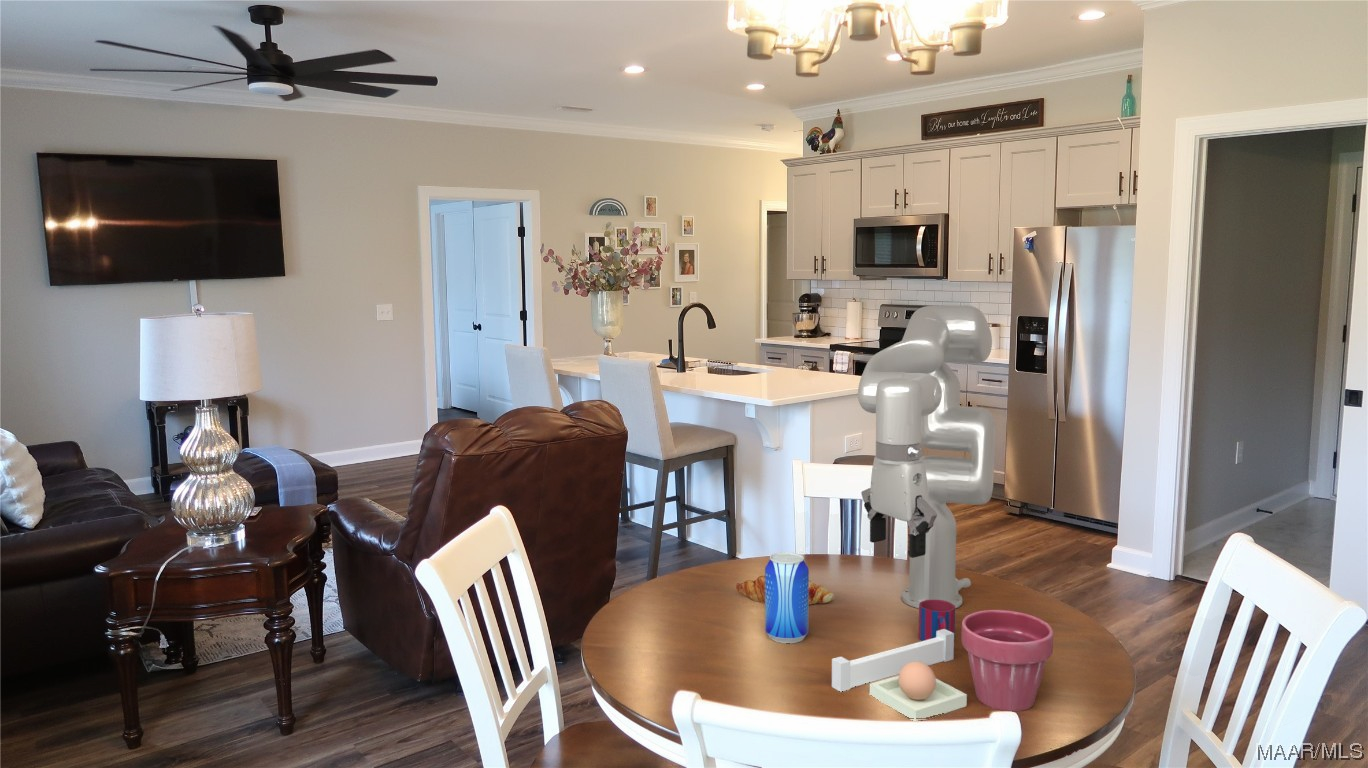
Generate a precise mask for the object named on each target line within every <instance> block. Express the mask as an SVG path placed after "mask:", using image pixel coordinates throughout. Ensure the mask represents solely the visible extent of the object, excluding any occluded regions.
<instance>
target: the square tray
mask: <svg viewBox="0 0 1368 768" xmlns="http://www.w3.org/2000/svg"><path fill="white" fill-rule="evenodd" d="M898 677H899V674H897V675H894V676H890V677H887V678H884V679H880V680H877V681H873V682H870V683H869V696H870V695H872V696H873V697H875V698H876V699H875V698H874V699H875V700H877V699H878V700H879V702H880V701H881V702H880V703H882V704H883V703H884V705H885V704H886V705H885V706H887V705H888V706H890V707H892V708H893V709H895V710H897V711H898V712H900V713H902V714H904V715H905V716H907V717H909V718H914V719H909V720H910V721H912V720H913V721H918V720H923V721H926V720H927V719H916V718H926V717H930V716H933V715H938V714H941V715H943V714H942V713H944V714H948V713H950V712H953V711H956V710H959V709H962V708H965V707H967V703H968V702H967V701H968V700H967V697H968V694H967V693H964V692H963V691H961V690H959V689H956V688H955V687H953V686H952V685H950V684H948V683H946V682H943V681H941V680H940V679H938V678H936V685H935V689H934V691H933V693H932V694H931V695H930V696H929V697H927V698H925V699H920V700H917V699H912V698H910V697H908V696H907V695H905V694H904V692H903V691H902V690H901V688H900V685H899V680H898ZM872 696H871V697H872ZM873 697H872V698H873ZM878 700H877V701H878ZM888 706H887V707H888ZM890 707H889V708H890ZM892 708H891V709H892ZM893 709H892V710H893ZM895 710H894V711H895ZM897 711H896V712H897ZM898 712H897V713H898ZM900 713H899V714H900ZM902 714H901V715H902ZM905 716H904V717H905ZM938 716H939V715H938ZM907 717H906V718H907ZM913 721H912V722H913Z"/></svg>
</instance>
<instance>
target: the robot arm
mask: <svg viewBox="0 0 1368 768" xmlns="http://www.w3.org/2000/svg"><path fill="white" fill-rule="evenodd" d="M992 349H993V335H992V330H991V329H990V325H989V324H988V321H987V318H986V317H985V315H984V313H983V312H982V311H981V310H980V309H978V308H977V307H976V306H974V305H927V306H922V307H920V308H918V309H916V310H915V311H914V312H913V314H912V315H911V316H910V318H909V321H908V324H907V326H906V328H905V332H904V335H903V336H902V339H901V340H900V341H899V342H896V343H893V344H892V345H890V346H888V347H886V348H884V349H882V350H880V351H879V352H876V353H875V354H874V355H873V356H871V357H870V359H869V360H868V361H867V363H866V365H865V367H864V370H863V371H862V372H863V373H862V374H861V376H860V380H859V383H858V386H857V388H858V389H857V399H858V403H859V405H860V407H861V408H862V409H863V410H864V411H865V412H867V413H871V414H875V456H874V458H873V463H872V471H871V478H870V487H868V488H867V489H863V490H862V491H861V493H860V494H861V497H862V501H863V503H864V504H863V505H864V506H863V507H864V509H865V511H866V512H867V515H866V516H867V519H868V520H869V542H870V543H872V544H873V543H874V544H875V543H877V542H882V541H885V540H886V539H887V538H886V537H887V518H886V517H884V516H887V517H891V518H893V519H896V520H899V521H903V522H906V524H907V525H908V527H909V536H908V540H909V541H908V556H909V575H908V576H909V577H908V578H909V579H908V581H909V583H908V587H907V588H906V589H904V590H903V591H902V592H901V600H902V602H904V603H905V604H907V605H908V606H910V607H914V608H916V609H919V603H920V602H922V601H924V600H931V599H935V600H943V601H947V602H950V603H952V604H953V605H955V609H957V608H959V607H961V605H962V604H963V597H962V595H961V594H959V591H961V589H965V588H968V587H971V585H972V582H971V579H969V578H968V577H964V578H959V579H958V578H957V577H956V559H957V557H956V555H957V553H956V551H957V522H956V518H955V516H954V514H953V513H952V511H951V509H950V508H949V507H948V505H947V504H950V503H951V504H962V505H963V504H964V505H973V506H976V505H977V506H978V505H980V506H981V505H985V504H987V503H989V502H990V500H991V498H992V496H993V495H992V494H993V489H994V477H995V476H994V475H995V473H994V472H995V457H996V454H995V451H996V424H995V418H994V415H993V413H992V412H991V411H990V410H989V409H987V408H984V407H979V406H966V405H965V406H961V403H960V396H961V395H960V394H961V382H960V380H959V378H958V377H957V375H956V373H955V372H954V370H953V369H952V368H951V367H950V366H949V364H947V363H963V364H964V363H965V364H966V363H968V364H979V363H980V364H981V363H984V362H985V361H987V360H988V358H989V356H990V355H991V352H992ZM922 447H923V448H925V449H931V450H937V451H949V452H951V451H952V452H953V451H954V452H966V453H968V454H970V456H971V458H969V457H967V458H964V457H954V456H953V457H952V456H943V455H942V456H939V455H924V452H923V450H922ZM946 503H947V504H946Z"/></svg>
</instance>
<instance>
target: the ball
mask: <svg viewBox="0 0 1368 768" xmlns="http://www.w3.org/2000/svg"><path fill="white" fill-rule="evenodd" d="M898 675H899V677H898V680H899V685H900V688H901V690H902V691H903V692H904V694H905V695H907V696H908V697H910V698H912V699H917V700H920V699H925V698H927V697H929V696H930V695H931V694H932V693H933V691H934V689H935V685H936V679H937V678H936V675H935V673H934V671H933V669H932V668H931V667H930V665H926V664H924V663H922V662H918V661H914V662H910V663H907V664H906V665H905V666H903V668H902V669H901V671H900V673H899V674H898Z"/></svg>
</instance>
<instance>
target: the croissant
mask: <svg viewBox="0 0 1368 768" xmlns="http://www.w3.org/2000/svg"><path fill="white" fill-rule="evenodd" d="M735 586H736V590H737V592H738V593H740V594H742V595H744V596H745V597H747V598H749V599H750V600H752V601H754V602H756V603H761V602H762V603H761V604H765V575H760V576H758V577H757V579H755V580H751V579H749V580H745V581H743V582H742V583H741V582H737V583H736V585H735ZM833 600H834V593H833V592H830V591H829V590H828V589H827V588H825V587H824V586H823V585H821V584H820V585H817V584H816V583H814V582H813V581H811V580H810V579H809V605H815V604H821V605H823V604H827V603H830V602H831V601H833Z"/></svg>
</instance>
